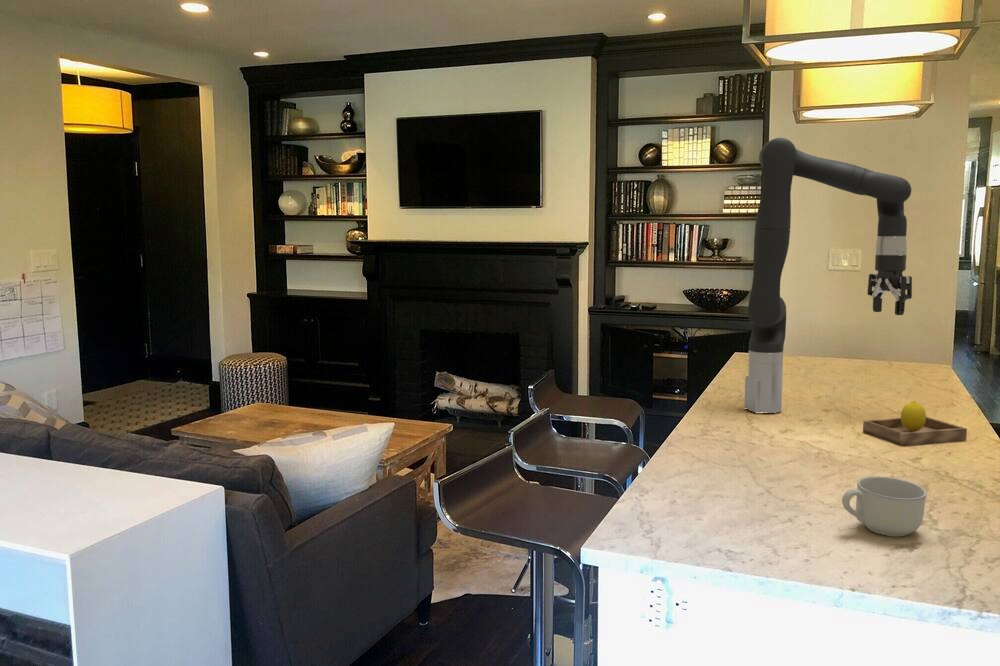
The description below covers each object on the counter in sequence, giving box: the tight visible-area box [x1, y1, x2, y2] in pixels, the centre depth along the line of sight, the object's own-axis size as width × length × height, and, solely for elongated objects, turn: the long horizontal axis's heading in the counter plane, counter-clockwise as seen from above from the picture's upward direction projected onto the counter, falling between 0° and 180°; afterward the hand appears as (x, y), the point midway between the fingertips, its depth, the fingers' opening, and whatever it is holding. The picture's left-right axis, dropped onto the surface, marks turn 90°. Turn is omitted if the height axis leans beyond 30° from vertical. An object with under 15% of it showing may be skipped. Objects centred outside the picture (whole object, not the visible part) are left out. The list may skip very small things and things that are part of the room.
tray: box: [862, 416, 968, 447], centre depth 202 cm, size 18×14×3 cm
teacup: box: [841, 475, 928, 538], centre depth 140 cm, size 14×11×8 cm
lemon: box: [900, 400, 927, 432], centre depth 202 cm, size 6×6×8 cm
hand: (888, 313), depth 222 cm, fingers open, 8 cm apart
